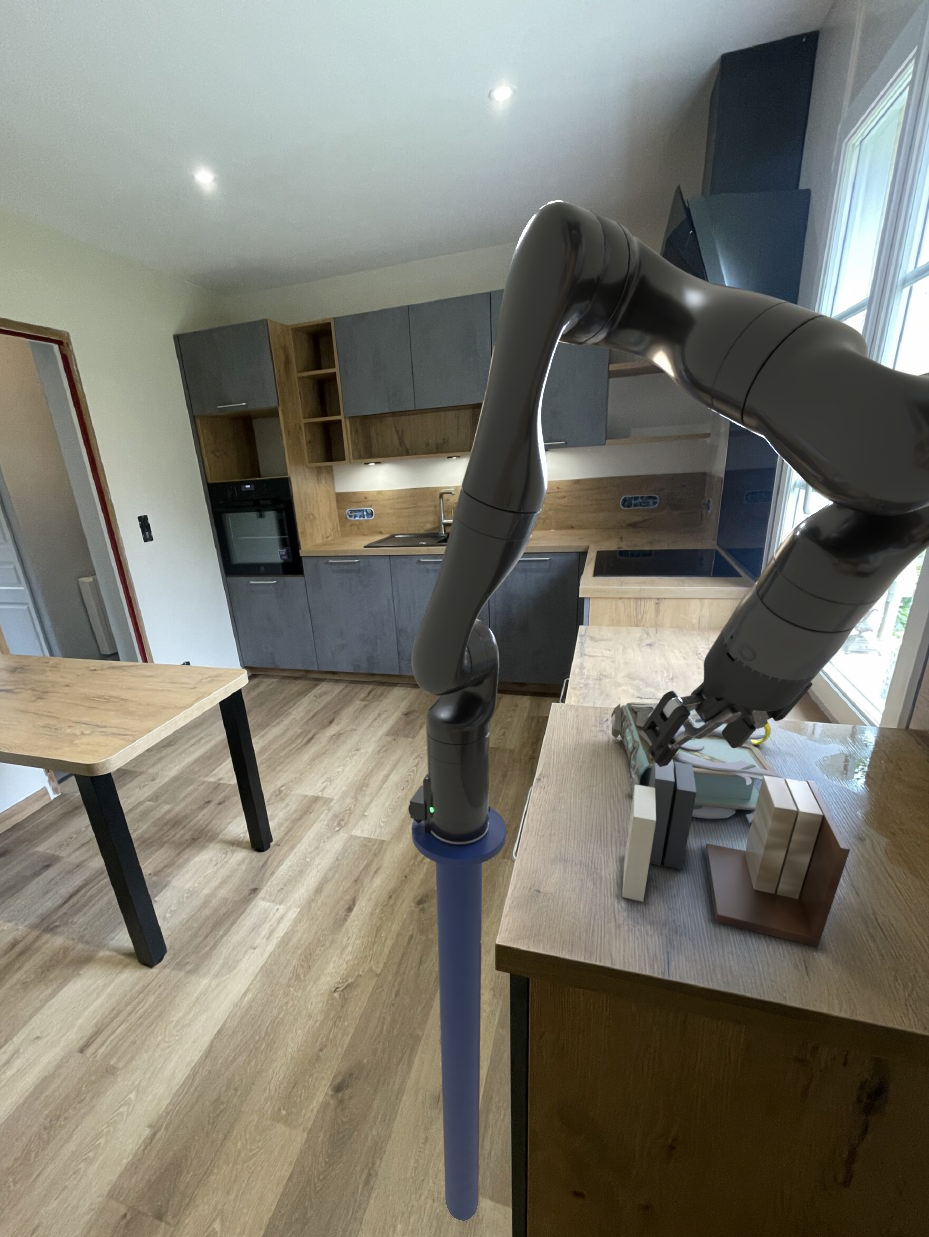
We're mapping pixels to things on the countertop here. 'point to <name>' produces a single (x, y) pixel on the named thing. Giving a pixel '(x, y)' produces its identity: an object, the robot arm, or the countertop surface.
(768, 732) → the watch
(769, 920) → the book stand
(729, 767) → the ornate book
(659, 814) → the grey books
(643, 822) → the ivory book
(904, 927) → the countertop surface
